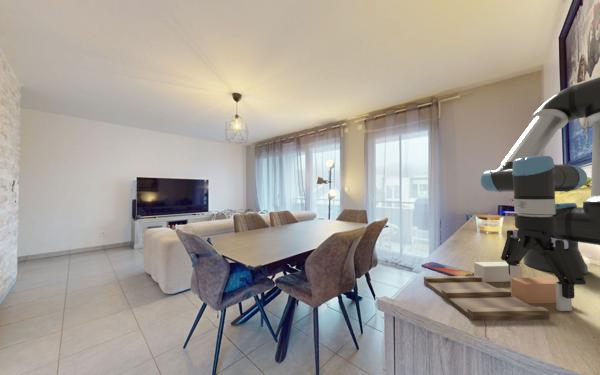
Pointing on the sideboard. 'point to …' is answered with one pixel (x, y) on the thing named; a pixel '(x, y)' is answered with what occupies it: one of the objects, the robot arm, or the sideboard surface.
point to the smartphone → (447, 269)
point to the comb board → (483, 299)
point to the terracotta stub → (534, 289)
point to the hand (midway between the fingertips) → (538, 298)
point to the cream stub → (492, 271)
